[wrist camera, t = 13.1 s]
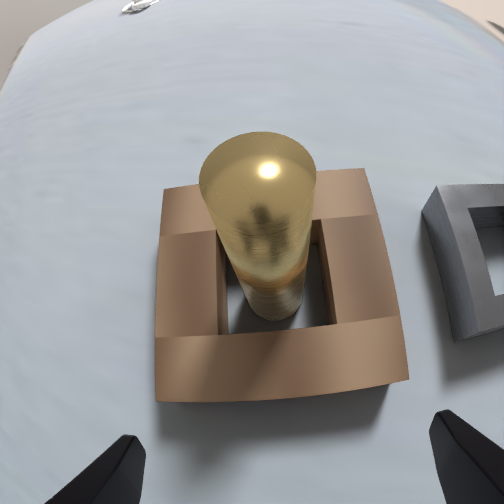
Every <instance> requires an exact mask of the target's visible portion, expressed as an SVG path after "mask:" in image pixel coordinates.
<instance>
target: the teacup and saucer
mask: <svg viewBox="0 0 504 504" xmlns="http://www.w3.org/2000/svg"><path fill="white" fill-rule="evenodd" d="M132 1H133V2H131V3H130V4H128V5H127V6H125V7H124V8H123V9H122V12H124V13H127V12H133V11H137V10H140V9H143V8H146V7H148V6H150V5H152V4H154V3H156V2H158V1H159V0H156V1H155V2H153V3H151V2H152V1H151V0H132ZM133 3H134V4H133ZM132 4H133V5H132ZM130 5H132V6H131V8H132V10H128V9H127V8H128V7H129V6H130Z"/></svg>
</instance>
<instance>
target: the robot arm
mask: <svg viewBox="0 0 504 504" xmlns="http://www.w3.org/2000/svg"><path fill="white" fill-rule="evenodd" d="M429 436H430V440H431V445H432V449H433V454H434V459H435V464H436V469H437V474H438V477H439V481H440V484H441V487H442V490H443V493H444V497H445V500H446V503H447V504H504V449H502V448H501V447H499V446H498V445H497V444H495V443H494V442H493V441H491V440H490V439H488V438H487V437H486V436H484V435H483V434H482V433H480V432H479V431H478V430H476V429H475V428H473V427H472V426H471V425H469V424H468V423H467V422H465V421H464V420H463V419H461V418H460V417H458V416H457V415H456V414H454V413H453V412H452V411H450V410H443V411H439V412H437V413H436V414H435V416H434V418H433V421H432V423H431V426H430V429H429ZM145 459H146V452H145V449H144V448H143V446H142V444H141V443H140V441H139V439H138V438H137V437H136V436H134V435H127V434H126V435H123V436H121V437H120V438H119V439H118V440H117V441H116V442H115V443H113V444H112V445H111V446H110V447H109V448H108V449H107V450H106V451H105V452H104V453H102V454H101V455H100V456H99V457H98V458H97V459H96V460H95V461H93V462H92V463H91V464H90V465H89V466H88V467H87V468H86V469H84V470H83V471H82V472H81V473H80V474H79V475H78V476H76V477H75V478H74V479H73V480H72V481H71V482H69V483H68V484H67V485H66V486H65V487H64V488H62V489H61V490H60V491H59V492H58V493H57V494H55V495H54V496H53V497H52V498H51V499H49V500H48V501H47V502H46V503H45V504H139V502H140V498H141V492H142V484H143V475H144V467H145Z"/></svg>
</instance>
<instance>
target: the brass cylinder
mask: <svg viewBox="0 0 504 504" xmlns="http://www.w3.org/2000/svg"><path fill="white" fill-rule="evenodd" d="M315 186H316V167H315V164H314V161H313V159H312V157H311V155H310V154H309V153H308V151H307V150H306V149H305V148H304V147H303V146H302V145H301V144H299V143H298V142H296V141H295V140H293V139H291V138H289V137H287V136H284V135H281V134H277V133H272V132H251V133H246V134H242V135H238V136H236V137H233V138H231V139H229V140H227V141H225V142H223V143H222V144H220V145H219V146H218V147H216V148H215V149H214V150H213V151H212V152H211V153H210V155H209V156H208V157H207V158H206V160H205V162H204V163H203V166H202V168H201V171H200V175H199V188H200V192H201V195H202V197H203V200H204V202H205V204H206V207H207V209H208V211H209V214H210V216H211V218H212V221H213V223H214V225H215V228H216V230H217V232H218V235H219V237H220V239H221V241H222V244H223V246H224V248H225V251H226V253H227V255H228V257H229V260H230V262H231V264H232V267H233V269H234V271H235V273H236V276H237V278H238V280H239V282H240V285H241V287H242V289H243V291H244V294H245V296H246V298H247V300H248V303H249V305H250V307H251V308H252V310H253V311H254V312H255V313H256V314H257V315H258V316H260V317H262V318H264V319H267V320H273V321H275V320H282V319H285V318H288V317H289V316H291V315H292V314H294V313H295V312H296V311H297V309H298V308H299V306H300V304H301V302H302V298H303V291H304V283H305V276H306V268H307V260H308V252H309V243H310V235H311V226H312V216H313V207H314V197H315Z"/></svg>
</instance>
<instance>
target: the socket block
mask: <svg viewBox="0 0 504 504" xmlns="http://www.w3.org/2000/svg"><path fill="white" fill-rule="evenodd" d="M422 213H423V217H424V220H425V223H426V226H427V229H428V232H429V236H430V239H431V242H432V246H433V249H434V253H435V257H436V260H437V264H438V268H439V272H440V276H441V280H442V284H443V289H444V293H445V297H446V302H447V307H448V312H449V317H450V322H451V328H452V333H453V339H454V342H456V341H460V340H464V339H468V338H471V337H475V336H479V335H482V334H486V333H489V332H493V331H496V330H499V329H503V328H504V294H502V295H498V296H495V295H494V291H493V287H492V283H491V279H490V276H489V272H488V268H487V265H486V261H485V258H484V255H483V251H482V248H481V245H480V242H479V239H478V236H477V233H476V230H475V228H484V227H494V226H504V184H467V185H437V186H436V187H435V189H434V191H433V192H432V194H431V196H430V198H429V199H428V201H427V203H426V204H425V206H424V208H423V209H422Z"/></svg>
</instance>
